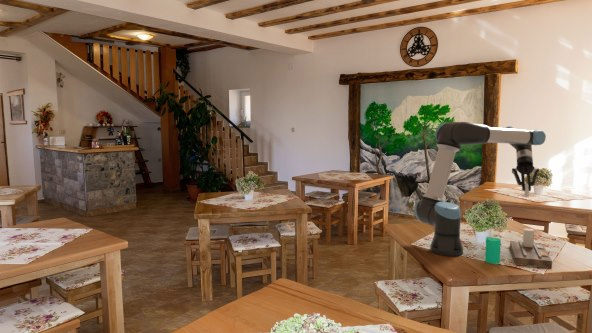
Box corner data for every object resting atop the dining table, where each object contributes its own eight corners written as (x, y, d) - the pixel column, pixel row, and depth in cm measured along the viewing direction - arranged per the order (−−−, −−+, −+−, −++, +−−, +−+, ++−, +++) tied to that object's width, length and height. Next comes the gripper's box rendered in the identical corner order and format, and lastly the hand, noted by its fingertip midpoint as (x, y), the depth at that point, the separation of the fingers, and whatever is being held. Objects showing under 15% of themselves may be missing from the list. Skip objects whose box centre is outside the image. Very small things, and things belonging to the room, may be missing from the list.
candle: (482, 260, 187) (483, 234, 186) (491, 258, 190) (492, 233, 189) (493, 264, 182) (494, 237, 181) (502, 262, 184) (503, 236, 183)
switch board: (514, 263, 182) (515, 255, 182) (510, 246, 208) (510, 238, 207) (551, 267, 177) (552, 258, 176) (542, 249, 202) (542, 241, 202)
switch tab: (523, 246, 196) (524, 230, 196) (522, 244, 200) (523, 228, 199) (533, 247, 195) (534, 231, 194) (532, 245, 198) (533, 229, 198)
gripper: (537, 164, 222) (540, 200, 208) (510, 164, 227) (511, 199, 213) (539, 155, 216) (542, 191, 203) (511, 155, 222) (513, 190, 208)
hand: (526, 195), depth 208 cm, fingers closed
